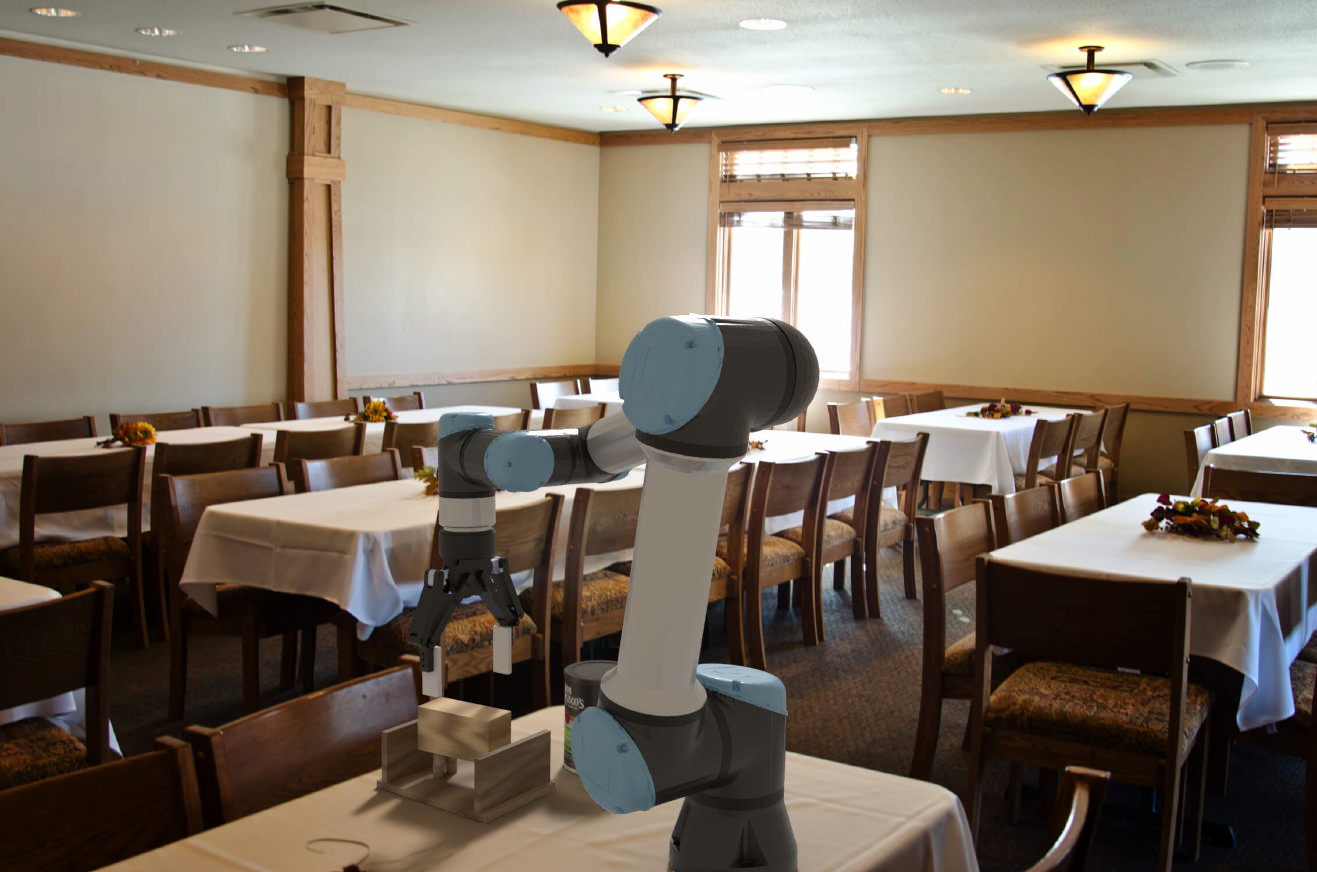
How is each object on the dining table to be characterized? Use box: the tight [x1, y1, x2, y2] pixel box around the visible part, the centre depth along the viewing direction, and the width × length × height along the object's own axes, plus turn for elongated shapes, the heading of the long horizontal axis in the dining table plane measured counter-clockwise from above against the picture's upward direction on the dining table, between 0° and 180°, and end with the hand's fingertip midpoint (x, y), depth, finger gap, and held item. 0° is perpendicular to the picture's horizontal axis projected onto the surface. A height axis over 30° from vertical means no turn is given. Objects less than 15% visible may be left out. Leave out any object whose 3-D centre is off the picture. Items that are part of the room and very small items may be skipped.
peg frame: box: [376, 718, 557, 824], centre depth 160 cm, size 20×14×8 cm
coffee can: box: [562, 659, 618, 776], centre depth 170 cm, size 10×10×14 cm
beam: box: [417, 696, 512, 762], centre depth 160 cm, size 12×5×6 cm, turn 61°
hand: (468, 683), depth 159 cm, fingers open, 13 cm apart
